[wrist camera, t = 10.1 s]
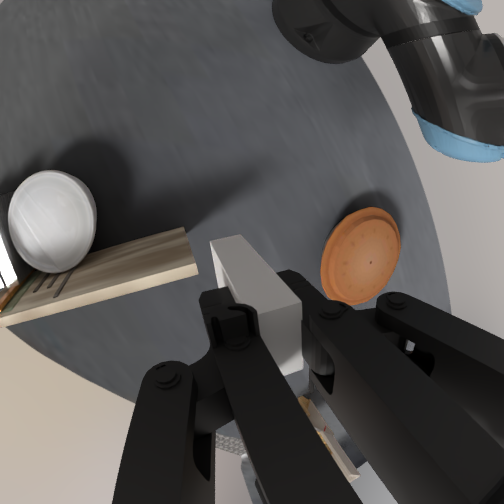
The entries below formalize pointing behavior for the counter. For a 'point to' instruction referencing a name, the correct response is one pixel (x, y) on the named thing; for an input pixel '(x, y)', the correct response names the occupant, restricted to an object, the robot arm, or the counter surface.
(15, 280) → the gauge sled
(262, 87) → the counter surface
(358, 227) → the pie
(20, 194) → the ramekin
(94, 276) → the scale board
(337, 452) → the staircase
